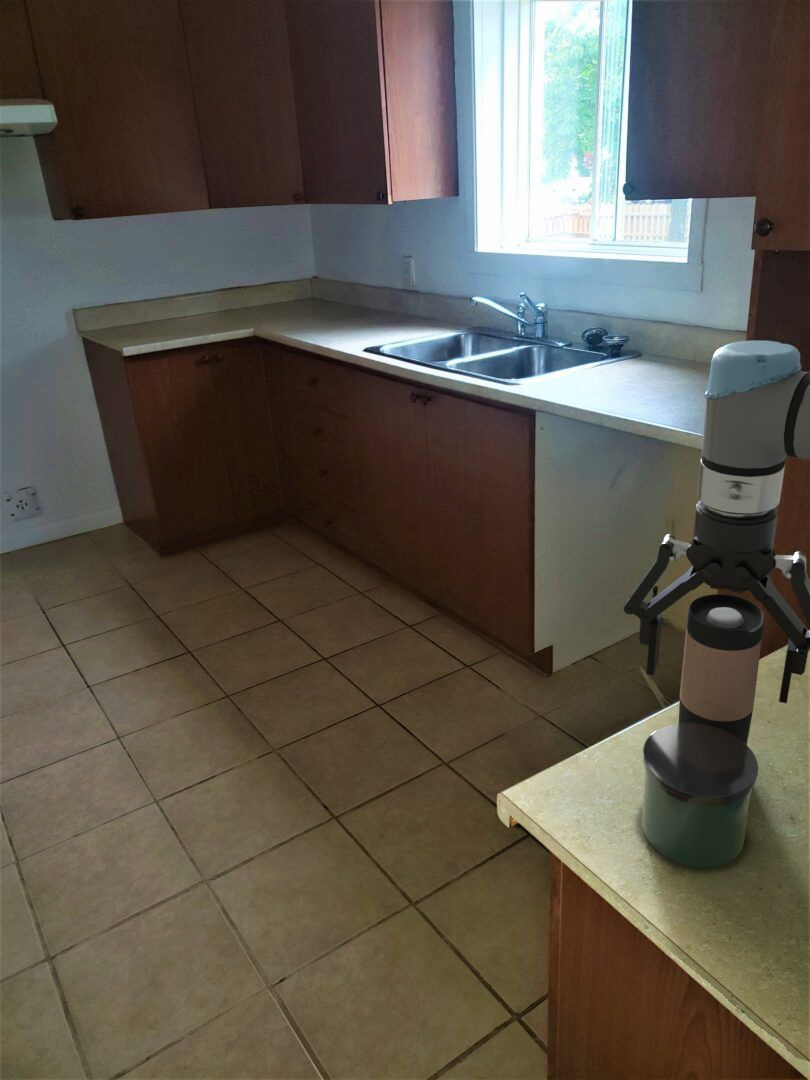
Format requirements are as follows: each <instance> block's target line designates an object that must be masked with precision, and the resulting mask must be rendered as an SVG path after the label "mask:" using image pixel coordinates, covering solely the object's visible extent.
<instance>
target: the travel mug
mask: <svg viewBox="0 0 810 1080" xmlns="http://www.w3.org/2000/svg"><path fill="white" fill-rule="evenodd" d="M764 625H765V614H764V611H763V610H762V608H761V607H760V606H759V605H758V604H756V603H755V602H753V601H751V600H749V599H747V598H744V597H741V596H737V595H733V594H724V593H713V594H706V595H702V596H699V597H697V598H695V599H693V600H692V601H691V603H690V604H689V606H688V609H687V618H686V627H685V628H686V629H685V640H684V648H683V659H682V669H681V679H680V687H679V689H680V690H679V702H678V705H679V706H678V722H677V724H680V723H695V724H703V725H708V726H712V727H716V728H719V729H721V730H724V731H726V732H728V733H730V734H732V735H734V736H736V737H737V738H739V739H740V740H741V741H743V742H744V743H745V744H746V745H747V746H748V740H749V735H750V730H751V724H752V719H753V713H754V705H755V699H756V690H757V682H758V675H759V674H758V673H759V667H760V658H761V648H762V641H763V634H764V633H763V632H764Z"/></svg>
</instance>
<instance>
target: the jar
mask: <svg viewBox="0 0 810 1080" xmlns="http://www.w3.org/2000/svg"><path fill="white" fill-rule="evenodd" d="M641 755H642V757H641V758H642V763H643V766H644V771H645V772H644V787H643V789H644V790H643V801H642V802H643V804H642V819H641V827H642V831H643V834H644V836H645V838H646V840H647V841H648V843H649V844H650V845H651V846H652V848H654V850H655V851H657V852H658V853H659V854H660V855H662V856H663V857H665V858H666V859H669V860H670V861H673V862H674V863H677V864H679V865H683V866H687V867H690V868H691V867H692V868H698V869H699V868H700V869H711V868H718V867H721V866H724V865H727V864H729V863H731V862H732V861H734V860H735V859H736V858H737V857H738V856H739V854H740V853H741V852H742V850H743V848H744V844H745V836H746V829H747V822H748V815H749V809H750V800H751V793H752V790H753V787H754V786H755V784H756V782H757V780H758V776H759V762H758V760H757V757H756V754H754V752H753V750H752V749H751V748H750V747H749V746H748V744H747V745H746V744H745V743H744V742H743V741H741V740H740V739H739V738H737V737H736V736H734V735H732V734H730V733H728V732H726V731H724V730H721V729H719V728H716V727H712V726H708V725H703V724H695V723H680V724H678V723H674V724H670V725H666V726H663V727H661V728H659V729H657V730H655V731H654V732H652V733H651V734H650V735H649V736H648V737H647V739H646V740H645V742H644V744H643V747H642V754H641Z"/></svg>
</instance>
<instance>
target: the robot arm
mask: <svg viewBox="0 0 810 1080" xmlns="http://www.w3.org/2000/svg"><path fill="white" fill-rule="evenodd" d="M712 355H713V356H712V359H711V363H710V369H709V376H708V382H707V386H706V387H707V389H706V391H705V393H704V398H705V405H704V406H705V408H704V420H703V433H702V446H701V454H700V462H699V463H700V464H699V474H698V482H697V492H696V496H697V499H698V500H699V501H697V503H696V505H695V513H694V524H693V535H692V540H691V541H690V542H687V541H683V540H678V539H677V538H676V536H675V535H674V534H673V533H667V534H665V535H664V536H663V539H662V542H661V543H660V545H659V547H658V553H657V557H656V558H655V559H654V561H653V563H651V566H650V567H649V568H648V570H647V571H646V572H645V573H644V575H643V577H642V578H641V579H640V581H639V582H638V584H637V585H636V586H635V588H634V589H633V591H632V592H631V594H630V595H629V596H628V599H627V600H626V602H625V605H624V607H623V611H624V613H625V614H627V615H634V616H636V617H637V618H638V619H639V621H640V623H639V639H638V641H639V643H640V645H643V646H648V648H647V661H646V662H647V663H646V675H649V676H655V673H656V670H657V667H658V665H659V659H660V647H661V646H660V645H661V636H662V635H661V633H662V621H663V612H665V611H666V610H667V609H668V608H670V607H671V606H672V605H674V604H675V603H676V602H678V601H679V600H681V599H682V598H683V597H684V596H686V595H687V594H688V593H690V592H691V591H695V590H697V588H698V587H700V586H701V585H703V584H706V585H707V586H709V589H713V590H727V591H730V592H733V593H738V594H743V592H747V591H749V592H750V594H751V595H752V596H753V597H754V599H755V600H756V601H757V602H760V603H761V604H762V606H763V607H764V608H765V609H766V611H767V612H768V613H769V615H770V616H771V617H772V618H773V620H774V621H775V622H776V623H777V625H778V627H780V628H781V630H782V631H783V633H784V634H785V635H786V636H787V638H788V642H787V648H786V655H785V659H784V666H783V672H782V678H781V685H780V692H779V699H778V703H783V704H787V703H788V698H789V693H790V685H791V681H792V674H794V675H800V676H802V675H804V673H805V672H806V666H807V661H808V655H809V651H810V578H809V576H808V573H807V554H806V553H805V552H804V551H801V550H798V551H796V552H794V553H793V555H788V554H787V555H786V554H777V553H776V552H775V548H774V543H775V537H776V530H777V523H778V516H779V511H778V508H777V507H779V504H780V502H781V496H782V488H783V481H784V475H785V468H786V460H787V457H789V458H794V459H795V458H796V459H803V460H809V461H810V371H803V370H802V364H801V353H800V352H799V350H798V348H797V347H796V346H794V345H792V344H788V343H781V342H779V341H774V340H743V341H735V342H731V343H727V344H725V345H723V346H721V347H720V348H718V349H717V350H716V351H715V352H714V354H712ZM681 556H686V558H687V559H688V561H689V562H690V564H691V565H692V566H691V567H689V568H688V570H687V571H686V572H685V573H683V574H682V575H681V576H679V577H678V578H677V579H675V580H674V581H673V582H672V583H670V584H669V585H668V586H667V587H665V588H664V589H663V590H661V591H660V592H659V593H658V594H656V595H655V596H654V597H652V598H651V599H650V600H646V601H644V600H645V598H646V597H647V596H648V594H649V593H650V592H651V590H652V589H653V587H654V586H655V585H656V583H657V582H658V581H659V579H660V578H661V576H662V575H663V574H664V572H665V571H666V569H667V568H668V565H669V563H670V562H676V561H678V560H679V558H680V557H681ZM775 569H778V570H781V573H782V575H783V576H784V577H785V578H786V579H789V580H790V582H791V587H792V590H793V593H794V595H795V597H796V600H797V602H798V604H799V607H800V609H801V612H802V614H803V616H804V618H805V621H806V623H807V625H808V627H809V629H808V627H807V626H806V625H805V623H804V622H803V621H802V620H801V618H800V617H799V616H798V615H797V614H796V612H795V610H794V609H793V608H792V607H791V605H789V603H788V602H787V601H786V599H785V598H784V596H783V595H782V594H781V593H780V592H779V590H778V589H777V587H776V586H775V585H774V583H773V581H772V579H771V577H770V576H769V575H770V574H771V573H772V572H773V571H774V570H775Z"/></svg>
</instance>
